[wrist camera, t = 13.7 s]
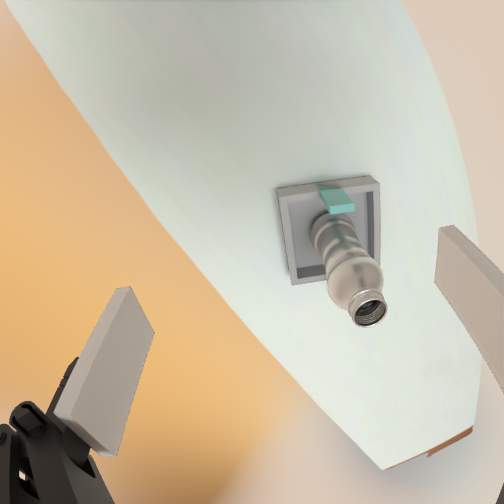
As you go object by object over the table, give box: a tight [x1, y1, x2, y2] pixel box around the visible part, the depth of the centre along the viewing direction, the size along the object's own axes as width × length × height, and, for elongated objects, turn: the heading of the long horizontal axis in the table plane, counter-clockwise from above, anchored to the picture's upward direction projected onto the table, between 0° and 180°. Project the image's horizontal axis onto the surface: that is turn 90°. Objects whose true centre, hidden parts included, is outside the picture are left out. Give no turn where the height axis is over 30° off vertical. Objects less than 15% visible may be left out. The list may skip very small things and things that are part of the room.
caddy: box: [277, 176, 381, 285], centre depth 43 cm, size 14×14×10 cm
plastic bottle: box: [311, 213, 387, 328], centre depth 38 cm, size 6×7×20 cm
